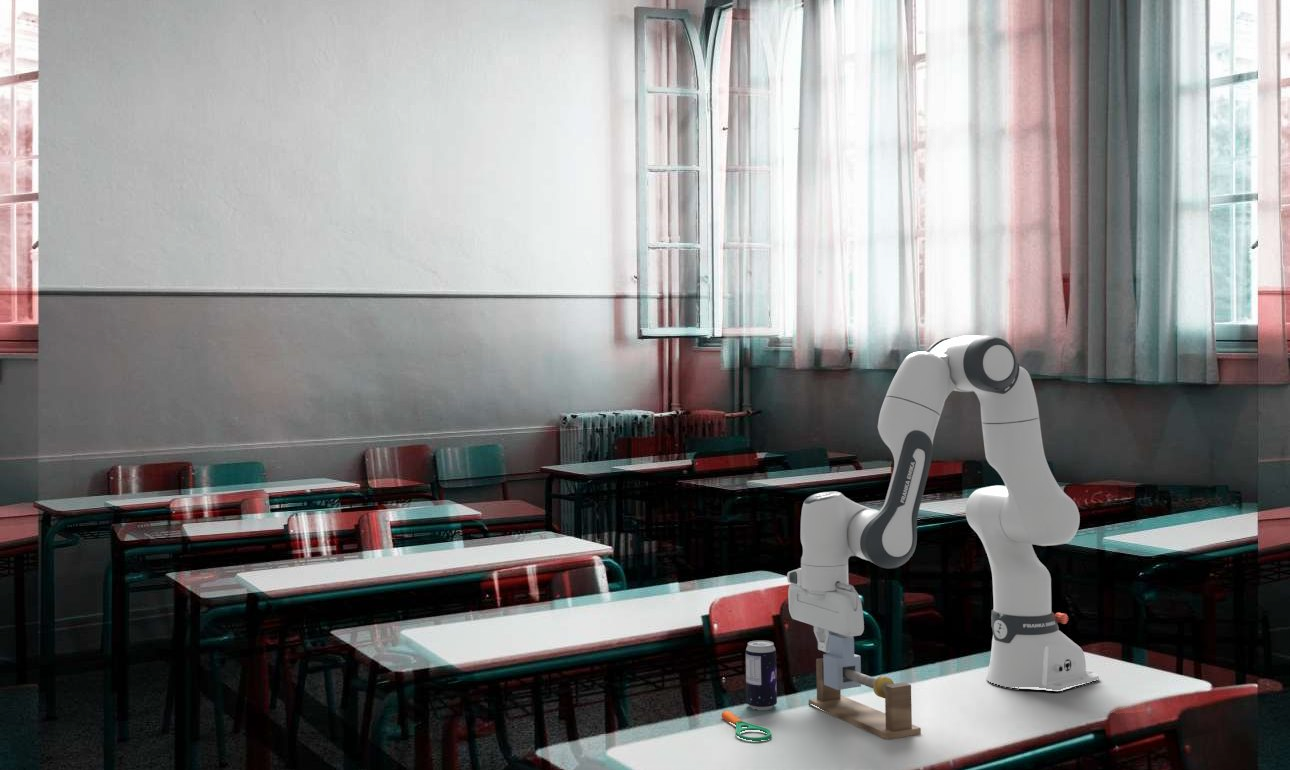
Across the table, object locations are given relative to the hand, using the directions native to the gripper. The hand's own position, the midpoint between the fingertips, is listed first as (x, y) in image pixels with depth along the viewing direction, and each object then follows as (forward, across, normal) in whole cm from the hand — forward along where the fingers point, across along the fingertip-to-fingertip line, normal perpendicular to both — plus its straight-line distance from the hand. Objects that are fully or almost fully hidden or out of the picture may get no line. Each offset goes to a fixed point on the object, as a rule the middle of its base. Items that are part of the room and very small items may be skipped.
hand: (826, 651), depth 216 cm
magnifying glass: (+10, -6, +22) cm, 25 cm away
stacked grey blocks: (+5, -5, 0) cm, 7 cm away
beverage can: (+10, +4, +12) cm, 16 cm away
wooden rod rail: (+10, -11, 0) cm, 15 cm away
